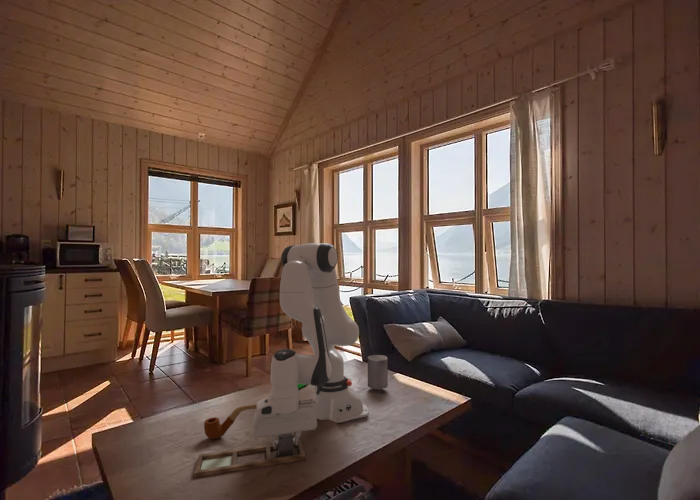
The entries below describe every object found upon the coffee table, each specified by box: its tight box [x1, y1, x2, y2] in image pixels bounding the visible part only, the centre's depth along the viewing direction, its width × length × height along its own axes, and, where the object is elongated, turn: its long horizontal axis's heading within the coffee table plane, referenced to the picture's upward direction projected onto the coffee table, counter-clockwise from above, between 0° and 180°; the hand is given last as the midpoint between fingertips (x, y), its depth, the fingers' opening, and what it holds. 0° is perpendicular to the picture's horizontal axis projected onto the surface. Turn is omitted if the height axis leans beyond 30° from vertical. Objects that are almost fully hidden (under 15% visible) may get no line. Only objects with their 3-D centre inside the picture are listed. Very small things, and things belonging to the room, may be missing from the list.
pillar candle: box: [367, 354, 389, 390], centre depth 175 cm, size 10×10×15 cm
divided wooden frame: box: [193, 439, 306, 478], centre depth 112 cm, size 32×10×1 cm, turn 106°
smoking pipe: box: [203, 403, 257, 440], centre depth 128 cm, size 7×18×6 cm
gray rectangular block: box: [277, 433, 294, 458], centre depth 115 cm, size 4×4×6 cm
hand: (285, 446), depth 115 cm, fingers closed on gray rectangular block, 4 cm apart
